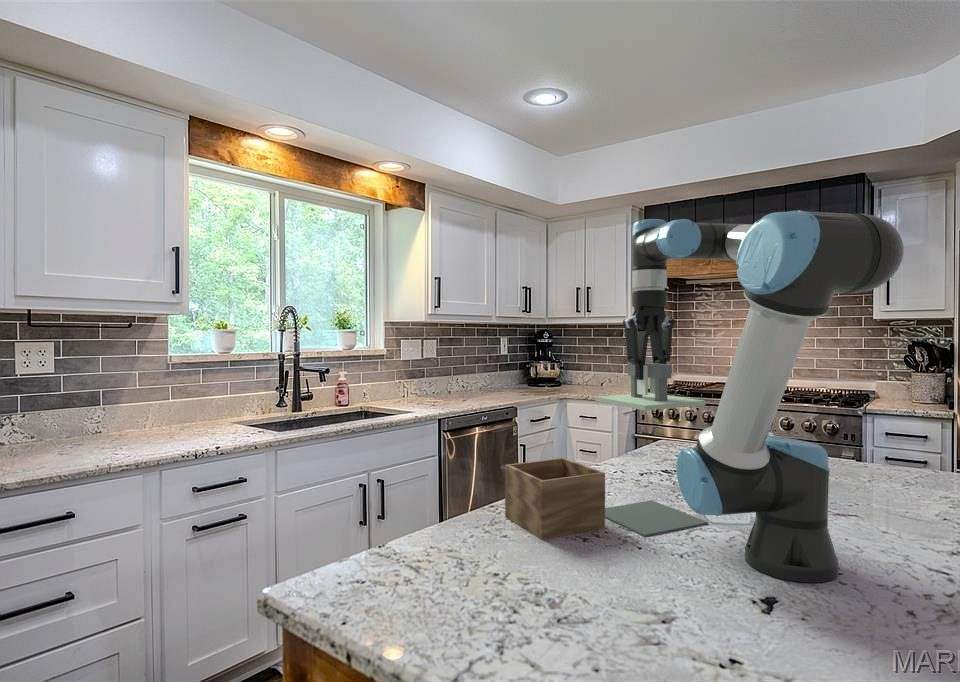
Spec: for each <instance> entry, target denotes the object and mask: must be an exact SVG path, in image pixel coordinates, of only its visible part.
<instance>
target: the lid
mask: <svg viewBox="0 0 960 682" xmlns="http://www.w3.org/2000/svg"><path fill="white" fill-rule="evenodd" d="M644 366H648V379H650V378H655V394H653V393H650V392H648V395H641V394H637V380H636V378H635V365H632V363H630V362H628V361H627V376H630V393H629V394H615V395H613V394H612V395H603V396H602V395H600V396H594V401H595V402H599V403H604V404H607V405H608V404H609V405H615V406H620V407H624V408H630V409H636V410H640V411H652V410H653V411H654V410H665V409H676V408H677V409H680V408H691V407H700V406H702V407H704V406H706V400H705V399H704V400H703V399H697V398H696V399H694V398H690V397H682V396H675V395H668V379H672V364H667V363H666V364H658V363H653V362H646V361H645V365H644Z"/></svg>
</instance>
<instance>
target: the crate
mask: <svg viewBox="0 0 960 682" xmlns="http://www.w3.org/2000/svg"><path fill="white" fill-rule="evenodd" d="M605 508H606V472H604V471H601V470H599V469H597V468H596V469H595V468H593V467H590V466H588V465H585V464H581V463H579V462H576V461H575V460H571V459H568V458H565V457H560V458H558V457H557V458H552V459H550V458H549V459H544V460H543V459H542V460H535V461H527V462H519V463H518V462H517V463H510V464H509V463H508V464H504V517H505V518H506V519H508V520H510V521H511V522H513V523H514V524H516V525H517V526H520V527H521V528H523V529H524V530H525V531H527V532H529V533H530V534H532V535H534V536H535V537H537V538H538V539H540V540H548V539H553V538H558V537H563V536H568V535H573V534H579V533H580V534H581V533H584V532H591V531H595V530H600V529H605V528H606V518H605Z"/></svg>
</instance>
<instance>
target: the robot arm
mask: <svg viewBox="0 0 960 682" xmlns="http://www.w3.org/2000/svg"><path fill="white" fill-rule="evenodd" d="M631 244H632V245H631V249H632V251H631V253H632V255H631V256H632V257H631V258H632V261H631V262H632V269H631V271H632V274H631V276H632V277H631V278H632V279H631V280H632V283H631V286H632V287H631V288H632V289H633V291H632V294H631V296H632V297H631V307H633V312H632V315H631V316H630V317H628V318H624V319H623V320H622V324H623V327H624V329H625V331H624V332H625V344H626V357H627V358H626V359H627V363H628V362H630V363H632V365H635V378H636V380H637V394H641V395H648V393H653V394H655V378H648V366H644V365H645V362H646V359H647V351H648V342H649V340H650V348H651V358H652V363H658V364H667V363H668V362H670V361H671V355H672V340H673V329H674V326H675V323H676V319H674V318H670V317H668V316H667V313H666V312H665V308H666V307H667V304H668V293H667V291H666V290H665V289H666V288H667V287H668V283H667V282H668V279H667V278H668V260H718V261H719V260H721V261H722V260H723V261H730V262H731V261H732V262H736V263H735V264H736V266H738V267H737V269H736V276H737V279H738V282H739V283H740V285H741V286H742V287H743V288H744V290H743V296H744V298H745V299H746V300H747V302H748V303H749V306H750V307H749V308H748V309H749V310H748V312H747V315H746V319H745V322H744V324H743V328H742V331H741V335H740V338H739V341H738V345H737V346H736V350H735V353H734V356H733V360H732V362H731V366H730V369H729V372H728V375H727V378H726V382H725V384H724V387H723V391H722V394H721V397H720V401H719V404H718V406H717V410H716V413H715V417H714V419H713V422H712V425H711V426H708V427H706V428H704V429H703V430H702V431H700V433H699V436H698V439H697V442H696V445H695V447H689V446H688V447H687V448H685V449H682V450H680V451H679V453H678V455H677V458H676V463H675V464H676V467H675V468H676V469H675V470H676V479H677V483H678V487H679V490H680V492H681V495H682V497H683V499H684V501H685V503H686V504H687V505H688V507H689V508H690V509H691V510H693V512H694V513H695V514H697V515H698V514H699V515H701V516H716V517H719V516H725V515H728V516H729V515H736V514H737V515H738V514H739V515H742V514H749V513H753V514H754V513H755V520H754V522H753V525H752V527H751V530H750V533H749V536H748V539H747V541H746V543H745V547H744V560H745V562H746V563H747V564H748V565H749V566H750V567H751V568H753V570H754V569H755V570H757V571H758V572H760V573H763V574H765V575H768V576H771V577H774V578H777V579H778V578H779V579H781V580H785V581H786V580H787V581H791V582H797V583H798V582H800V583H813V584H814V583H825V582H830V581H832V580H834V579H836V578H837V577H838V576H839V564H840V563H839V559H838V557H837V555H836V554H837V553H836V551H835V548H834V544H833V540H832V538H831V535H830V532H829V528H828V527H829V526H828V525H829V521H828V520H829V519H828V518H829V517H828V514H829V483H830V482H829V481H830V480H829V478H830V476H829V475H830V474H829V473H830V471H831V470H830V468H829V455H828V452H827V450H826V449H825V448H824V447H823V446H821V445H819V444H816V443H814V442H810V441H805V440H800V439H795V438H790V437H783V436H778V435H777V436H776V435H769V434H770V430H771V428H772V425H773V423H774V420H775V417H776V415H777V413H778V409H779V406H780V403H781V402H782V398H783V396H784V394H785V391H786V389H787V385H788V383H789V381H790V378H791V375H792V371H793V370H794V369H793V368H794V367H795V364H796V362H797V360H798V359H797V358H798V356H799V354H800V350H801V349H802V345H803V343H804V340H805V337H806V335H807V332H808V329H809V327H810V324H811V322H812V321H814V320H816V319H817V320H818V319H819V318H822V317H823V316H825V315H826V314H827V312H828V310H829V306H830V304H831V302H832V299H833V297H834V295H835V294H836V295H838V294H859V293H864V292H868V291H872V290H874V289H876V288H879V287H881V286H883V285H884V284H885V283H887V282H888V281H889V280H891V278H893V276H894V275H895V274H896V273H897V271H898V270H899V268H900V266H901V264H902V262H903V257H904V248H905V247H904V242H903V239H902V236H901V235H900V233H899V231H898V229H897V228H896V227H894V225H892V224H891V223H890V222H888V221H887V220H886V219H883V218H882V217H878V216H876V215H873V214H868V213H867V214H865V213H853V212H852V213H849V212H847V213H846V212H845V213H844V212H840V213H839V212H826V211H825V212H822V211H806V210H805V211H804V210H802V209H801V210H800V209H798V210H790V211H778V212H777V211H776V212H772V213H767V214H766V215H764V216H763V217H762V218H760V219H757V220H756V221H755V222H754V223H753V224H745V223H709V222H693V221H692V220H691V219H687V218H681V219H673V220H671V221H666V220H665V219H660V218H659V219H658V218H647V219H642V220H641V219H639V220H637V221H636V222H634V223H633V225H632V236H631ZM649 338H650V339H649Z"/></svg>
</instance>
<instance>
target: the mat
mask: <svg viewBox="0 0 960 682" xmlns="http://www.w3.org/2000/svg"><path fill="white" fill-rule="evenodd" d="M605 520H607V521H611V522H613V523H615V524H617V525H619V526H621V527H622V528H625V529H627V530H629V531H631V532H634V533H635V534H638V535H640V536H641V537H645V538H646V537H651V536H657V535H660V534H666V533H669V532H675V531H681V530H685V529H691V528H695V527H700V526H706V525H709V521H706V520H704V519H703V518H702V519H701V518H698V517H696V516H694V515H690V514H689V513H686V512H684V511H681V510H678V509H675V508H674V507H673V508H672V507H670V506H669V505H665V504H662V503H660V502H657V501H656V500H646V501H640V502H634V503H627V504H622V505H616V506H612V507H611V506H610V507H605Z"/></svg>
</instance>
